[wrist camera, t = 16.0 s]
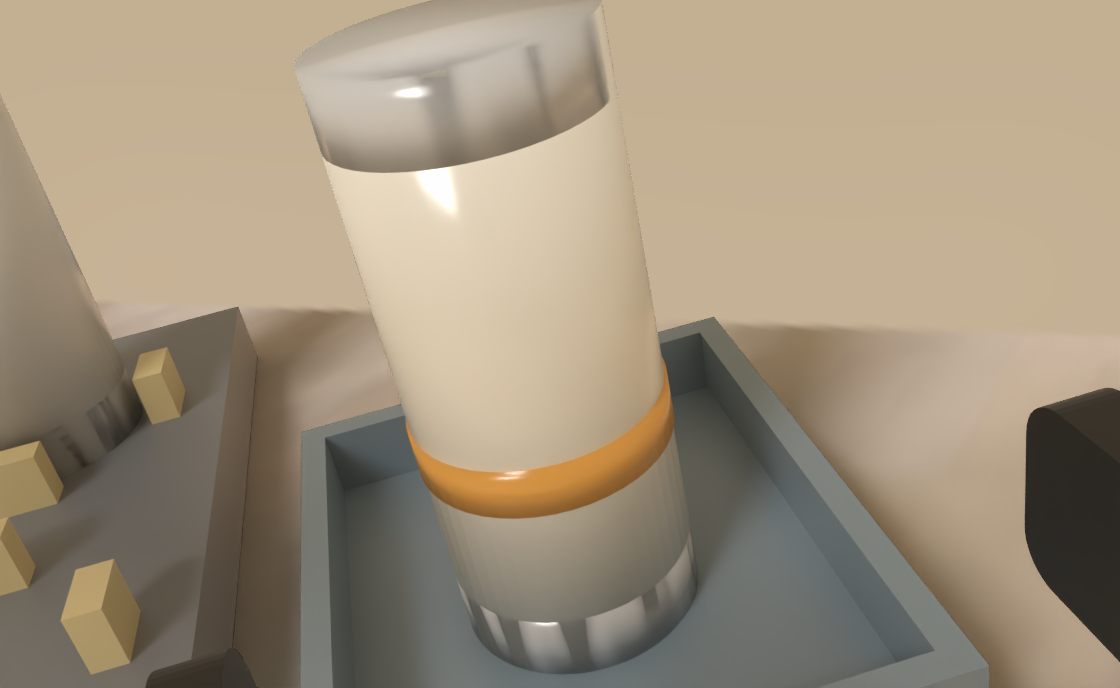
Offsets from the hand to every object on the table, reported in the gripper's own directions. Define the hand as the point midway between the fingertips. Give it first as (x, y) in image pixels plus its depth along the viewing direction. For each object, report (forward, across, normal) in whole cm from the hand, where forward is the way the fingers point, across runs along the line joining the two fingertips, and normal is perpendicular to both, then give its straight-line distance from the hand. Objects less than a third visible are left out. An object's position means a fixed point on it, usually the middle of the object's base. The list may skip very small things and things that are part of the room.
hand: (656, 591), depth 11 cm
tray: (+10, 0, +9) cm, 13 cm away
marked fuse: (+10, 0, +8) cm, 13 cm away
